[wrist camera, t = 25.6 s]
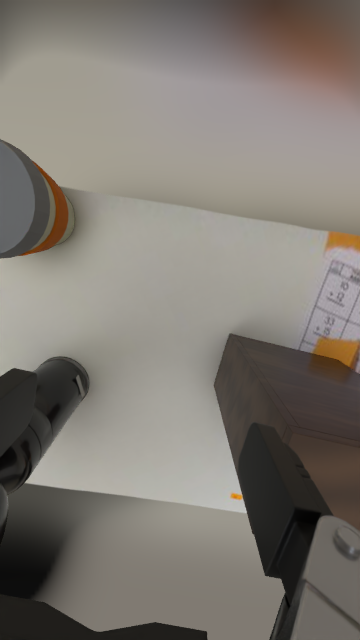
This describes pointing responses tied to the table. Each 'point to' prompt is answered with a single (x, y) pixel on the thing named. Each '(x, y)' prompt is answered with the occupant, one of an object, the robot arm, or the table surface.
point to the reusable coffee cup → (30, 206)
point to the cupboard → (297, 413)
